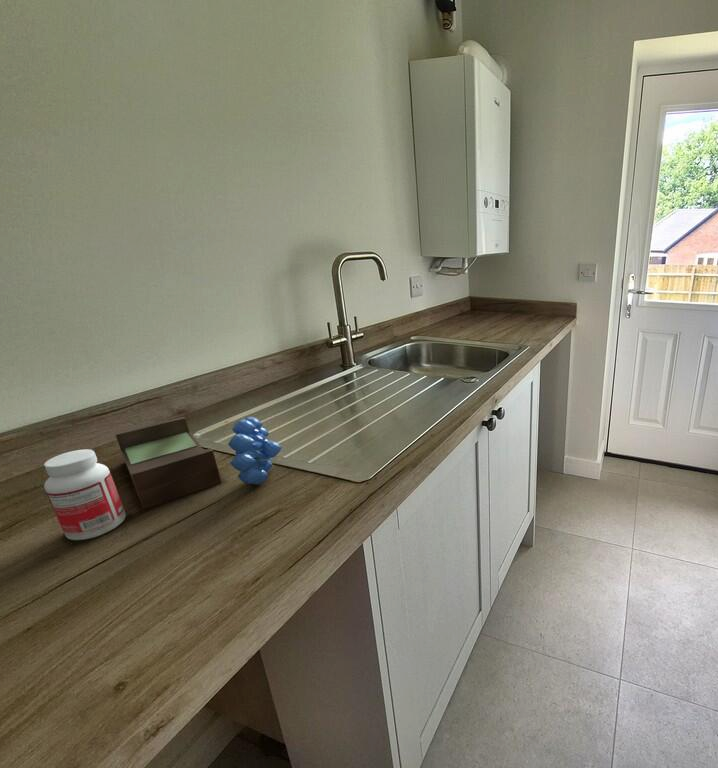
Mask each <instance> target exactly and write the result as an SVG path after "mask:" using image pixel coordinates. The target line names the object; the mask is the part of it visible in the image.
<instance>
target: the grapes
mask: <svg viewBox="0 0 718 768" xmlns="http://www.w3.org/2000/svg"><path fill="white" fill-rule="evenodd" d="M263 425H264V424H263V423H262V422H261V421H260V420H259V419H257V418H256V417H254V416H247V417H245V418H242V419H240V420H238V421H236V423H235V424H234V425H233V427H232V429H231V431H232V432H233V433H234V435H233V436H232V437H231V439H230V440H229V442H228V443H227V445H228V446H229V447H230V449H232V450H233V451H234V452H235V455H234V456H233V458H232V460H231V462H230V465H231V466H232V467H233V468H234V469H235V470H237V471H238V472H239V473H238V475H237V478H238V479H239V480H240V481H241V482H242V483H244V484H246V485H257V486H258V485H261V484H263V483H264V482H265V481H266V479H267V478H268V476H269V475H270V474H269V473H268V472H269V471H270V470H271V468H272V467H273V463H272V462H271V461H270V459H272V458H275V457H277V456H278V455H279V453H280V452H281V450H282V448H283V447H282V446H281V445H280V444H279V443H278V442H277V441H275V440H271V439H267V438H268V436H269V435H270V432H269V431H268V430H267V429H266V428H265V427H263Z"/></svg>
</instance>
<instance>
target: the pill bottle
mask: <svg viewBox="0 0 718 768" xmlns="http://www.w3.org/2000/svg"><path fill="white" fill-rule="evenodd" d="M43 466H44V469H45V471H46V474H47V476H49V477H48V478H47V479H46V480H45V482H44V484H43V488H44V491H45V493H46V496H47V498H48V501H49V502H50V504H51V507H52V510H53V512H54V514H55V516H56V518H57V521H58V522H59V525H60V527H61V530H62V533H63V534H64V536H65V537H66V538H67V539H68V540H70V541H85V540H90V539H94V538H97V537H99V536H102V535H105V534H106V533H108V532H110V531H112V530H114V529H116V528H117V527H119V526H120V525H121V524H122V523H123V522H124V521H125V519H126V515H127V514H126V511H125V508H124V505H123V503H122V500H121V497H120V495H119V492H118V489H117V486H116V484H115V481H114V479H113V476H112V473H111V472H110V471H111V470H110V469H109V467H107V465H105V464H103V463H100V462H99V463H98V457H97V455H96V452H95V451H94V449H90V448H89V449H88V448H86V449H85V448H84V449H77V450H72V451H67V452H63V453H61V454H58V455H56V456H53V457H51V458H49V459H48V460H46V461H45V462H44V464H43Z"/></svg>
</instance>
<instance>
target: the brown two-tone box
mask: <svg viewBox="0 0 718 768" xmlns="http://www.w3.org/2000/svg"><path fill="white" fill-rule="evenodd" d="M114 435H115V438H116V441H117V443H118V447H119V449H120V452H121V455H122V457H123V460H124V463H125V466H126V469H127V471H128V474H129V476H130V479H131V482H132V484H133V487H134V489H135V492H136V494H137V497H138V499H139V502H140V504H141V507H142V509H143V510H147V509H149V508H152V507H155V506H158V505H161V504H163V503H166V502H169V501H172V500H176V499H178V498H181V497H184V496H187V495H190V494H192V493H195V492H198V491H201V490H203V489H206V488H209V487H213V486H216V485H218V484H221V483H222V479H221V474H220V472H219V471H220V470H219V467H218V464H217V460H216V457H215V453H214V450H213V448H211V447H210V448H207V449H204V448H203V447H202V445H201V444H200V443H199V442H198V441H197V439H196V438H195V437H194V436H193V434H192V433H191V432H190V428H189V425H188V422H187V418H186V417H185V416H181V417H177V418H173V419H169V420H164V421H160V422H156V423H151V424H147V425H143V426H139V427H135V428H131V429H127V430H122V431H118V432H115V433H114Z"/></svg>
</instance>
